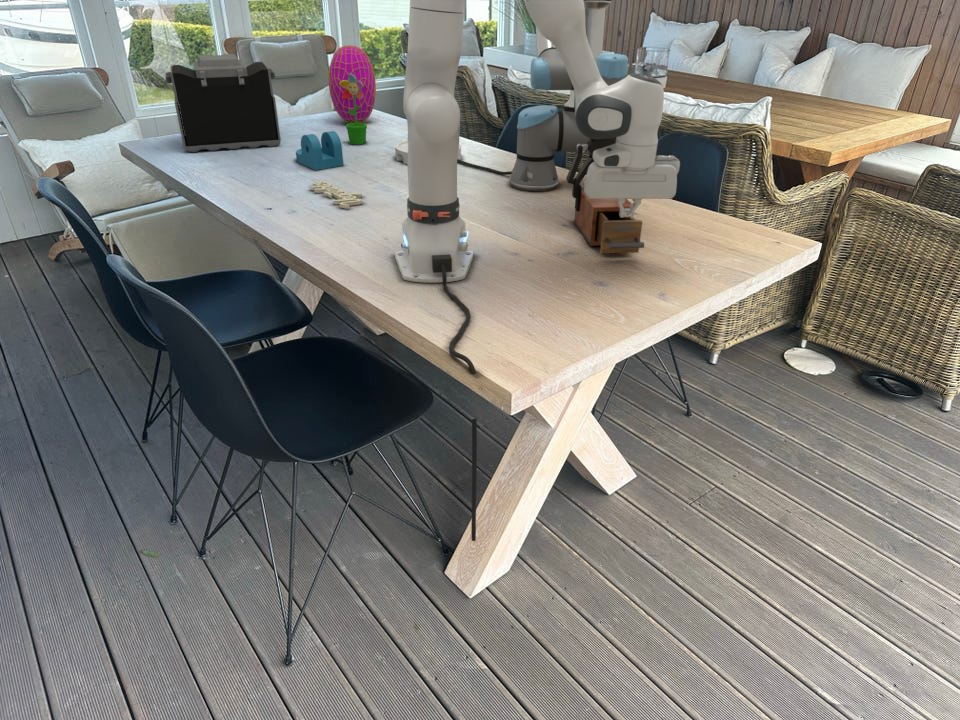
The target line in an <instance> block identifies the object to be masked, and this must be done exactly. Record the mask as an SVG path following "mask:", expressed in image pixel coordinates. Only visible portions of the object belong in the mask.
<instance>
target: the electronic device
mask: <svg viewBox="0 0 960 720" xmlns="http://www.w3.org/2000/svg"><path fill="white" fill-rule="evenodd" d="M197 58H198V59H197V60H195V61H193V67H194V69H193V68H189V67H187V66H184V65H181V64H171V65H170V71H167V72H165V74H164V75H165V82H166V84H171V85H172V90H173V94H174V106H175V107H174V108H175V111H176V112H175V113H176V116H177V121H178V126H179V131H180V136H181V141H182V146H183V149H184V150H185V151H186V152H187V153H188V152H189V153H199V152H200V151H202V150H203V151H204V150H207V151H210V152H214V151H219V150H220V149H228V150H239V149H240V148H245V147H247V148H250V149H255V148H258V147H260V146H267V147H277V146H279V145H281V141H282V139H281V131H280V125H279V117H278V109H277V102H276V97H275V95H274V89H273V81H272V80H273V79H276V73H275V71H274V70H273V69H272V68H270V67H268V66H266V64H265V63H264V62H263V61H255V62H253V63H251V64H249V65H247V66H246V65H245V63H244V62H243V60H241V59H239V58H238V57H237V55H236V54H235V53H222V54H218V55H215V54H213V55H212V54H198V57H197Z"/></svg>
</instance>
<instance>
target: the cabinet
mask: <svg viewBox="0 0 960 720" xmlns="http://www.w3.org/2000/svg"><path fill="white" fill-rule="evenodd" d="M632 204H633V203H631V201H630V200H629V199H625V203H622V205H623V207H624V208H630V207H631V205H632ZM602 211H620V208H619V206H618V204H617V202H616V199H590V198H588V197H587V195H586V194H585V192H584V186H582V189H581V200H580V211H576V209H575V208H574V216H573V217H574V218H573V223H574V224H575V226H576V227H577V228H578V230H579V232H580V233H581V234H582V236H583V238H584V239H585V241H586V242H587V243H588V245H589V246H601V245H600V243H599V242H598V241H597V239H596V238H595V232H596V221H597V212H602ZM633 218H634V219H635V216H634V217H633Z"/></svg>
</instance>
